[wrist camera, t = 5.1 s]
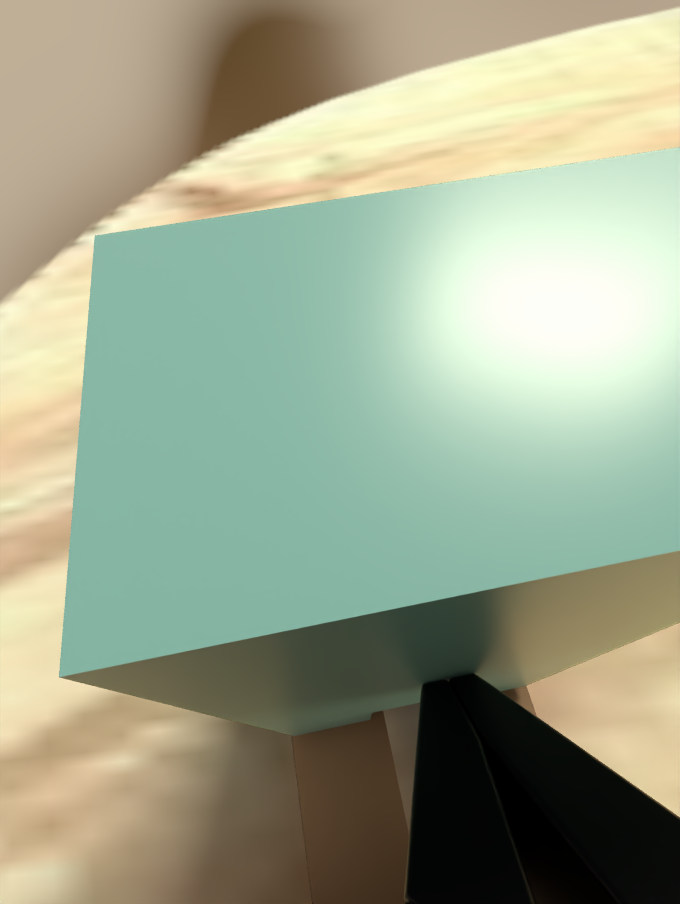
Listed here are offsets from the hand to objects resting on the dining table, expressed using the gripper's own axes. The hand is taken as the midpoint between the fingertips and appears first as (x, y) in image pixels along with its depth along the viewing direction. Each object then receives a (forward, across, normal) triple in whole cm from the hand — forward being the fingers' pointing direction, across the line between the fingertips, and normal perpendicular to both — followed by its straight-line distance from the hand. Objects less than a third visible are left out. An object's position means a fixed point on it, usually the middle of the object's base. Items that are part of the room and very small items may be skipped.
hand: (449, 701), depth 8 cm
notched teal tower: (+6, 0, +3) cm, 7 cm away
